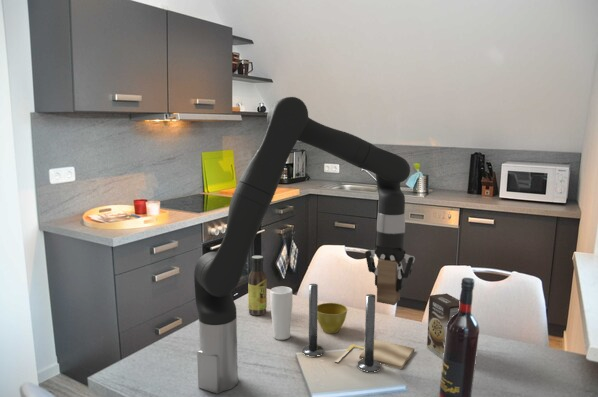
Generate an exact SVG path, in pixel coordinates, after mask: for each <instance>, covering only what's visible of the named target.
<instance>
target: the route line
mask: <svg viewBox="0 0 598 397" xmlns="http://www.w3.org/2000/svg"><path fill="white" fill-rule="evenodd" d="M354 348H355V349H359V350H363V349H365V346H362V345H357V344H350V345H349V347H348V348H346V349H345V351H350V350H351V349H352V350H353V349H354ZM352 350H351V351H352ZM351 351H350V352H351Z"/></svg>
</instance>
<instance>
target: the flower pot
mask: <svg viewBox="0 0 598 397" xmlns="http://www.w3.org/2000/svg"><path fill="white" fill-rule="evenodd" d="M347 313H348V307H347V306H345V305H344V304H343V303H337V302H325V303H320V304H318V310H317V323H318V324H319V326H320V328H321V330H322V331H323V332H324V333H327V334H335V333H338V332H339V331H340V330H341V329H342V327H343V324H344V323H345V320H346V318H347Z"/></svg>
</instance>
